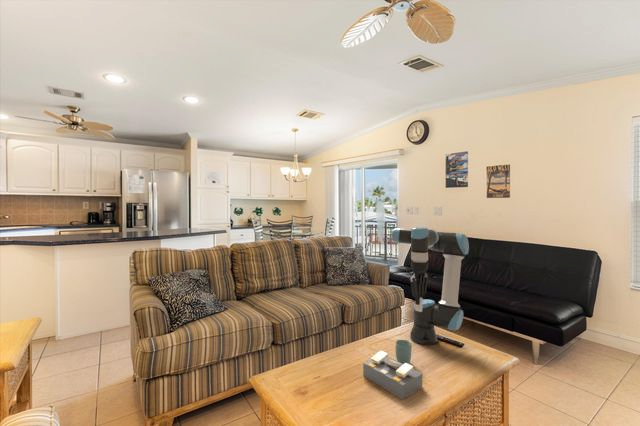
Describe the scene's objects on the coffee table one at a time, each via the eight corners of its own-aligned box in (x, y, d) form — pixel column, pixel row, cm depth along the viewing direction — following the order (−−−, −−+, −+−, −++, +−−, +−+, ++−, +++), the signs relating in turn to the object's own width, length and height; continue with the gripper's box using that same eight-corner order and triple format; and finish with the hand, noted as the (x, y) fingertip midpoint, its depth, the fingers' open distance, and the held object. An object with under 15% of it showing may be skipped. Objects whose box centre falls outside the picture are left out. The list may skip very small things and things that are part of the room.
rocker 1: (381, 352, 147) (380, 350, 147) (387, 356, 144) (387, 353, 144) (371, 360, 143) (371, 358, 143) (378, 364, 140) (377, 361, 140)
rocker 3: (405, 365, 136) (405, 362, 136) (413, 369, 133) (413, 366, 133) (396, 373, 132) (395, 370, 132) (403, 377, 129) (403, 374, 129)
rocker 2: (393, 363, 142) (394, 360, 142) (400, 367, 139) (401, 364, 139) (384, 361, 138) (385, 358, 138) (391, 365, 135) (392, 361, 135)
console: (382, 366, 151) (383, 351, 151) (422, 387, 134) (422, 370, 134) (363, 375, 143) (363, 360, 142) (402, 399, 125) (402, 382, 125)
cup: (411, 367, 151) (412, 347, 150) (395, 365, 152) (396, 345, 152) (410, 359, 158) (410, 340, 158) (395, 357, 160) (395, 338, 159)
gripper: (420, 257, 149) (419, 305, 150) (404, 261, 141) (403, 311, 142) (434, 260, 143) (433, 309, 144) (418, 264, 135) (417, 316, 136)
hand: (418, 310), depth 143 cm, fingers closed
